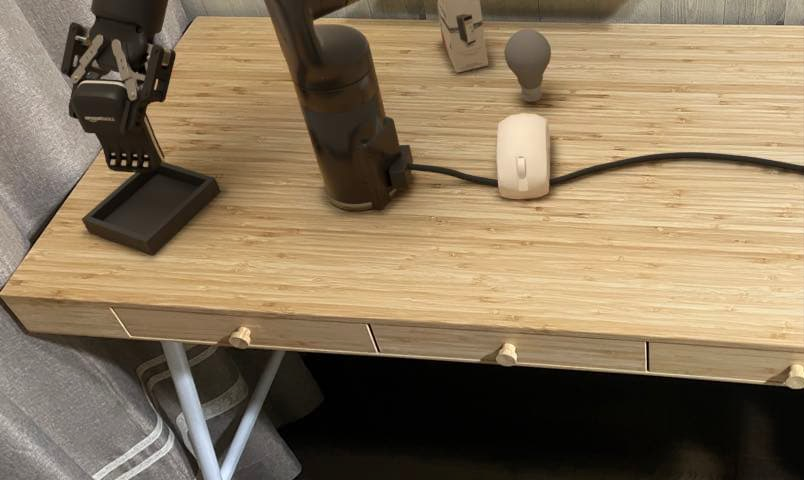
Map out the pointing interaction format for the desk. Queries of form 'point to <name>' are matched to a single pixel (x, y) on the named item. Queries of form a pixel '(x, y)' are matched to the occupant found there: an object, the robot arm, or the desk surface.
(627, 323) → the desk surface
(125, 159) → the battery charger
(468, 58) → the ink box
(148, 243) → the dock pad
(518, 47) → the light bulb
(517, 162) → the computer mouse
